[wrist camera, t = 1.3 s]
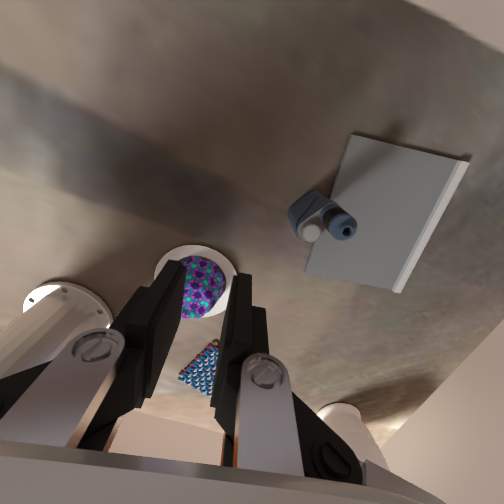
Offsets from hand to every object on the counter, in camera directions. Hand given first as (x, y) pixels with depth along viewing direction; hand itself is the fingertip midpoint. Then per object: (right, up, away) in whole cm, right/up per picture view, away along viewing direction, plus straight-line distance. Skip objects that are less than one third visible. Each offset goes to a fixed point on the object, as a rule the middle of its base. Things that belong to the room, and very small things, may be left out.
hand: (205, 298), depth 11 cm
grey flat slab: (+18, +6, +23) cm, 29 cm away
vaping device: (+9, +8, +22) cm, 25 cm away
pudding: (-6, -2, +27) cm, 28 cm away
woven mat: (-4, -18, +34) cm, 39 cm away
